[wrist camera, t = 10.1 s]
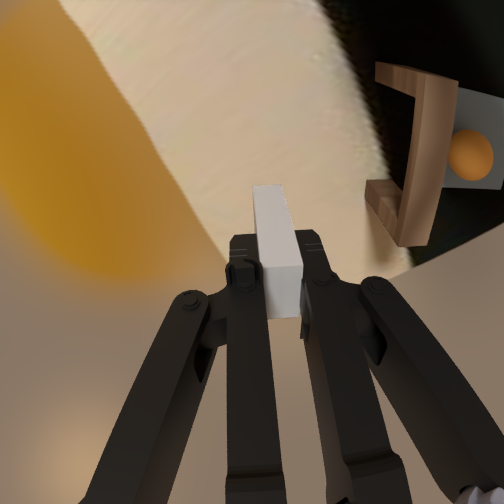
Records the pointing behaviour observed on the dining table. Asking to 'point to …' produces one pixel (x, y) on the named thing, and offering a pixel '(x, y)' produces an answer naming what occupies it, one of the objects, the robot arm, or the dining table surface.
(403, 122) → the dining table surface
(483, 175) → the ball
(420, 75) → the bridge
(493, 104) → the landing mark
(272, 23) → the dining table surface
